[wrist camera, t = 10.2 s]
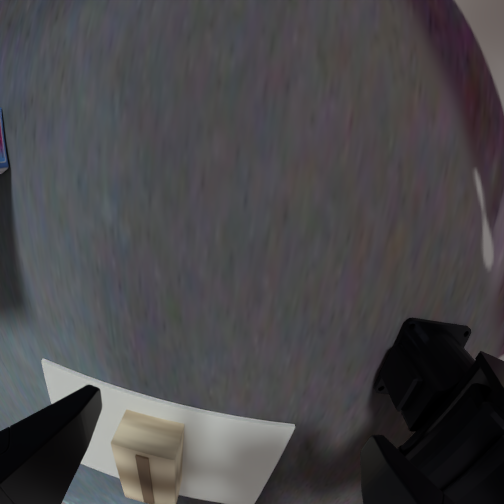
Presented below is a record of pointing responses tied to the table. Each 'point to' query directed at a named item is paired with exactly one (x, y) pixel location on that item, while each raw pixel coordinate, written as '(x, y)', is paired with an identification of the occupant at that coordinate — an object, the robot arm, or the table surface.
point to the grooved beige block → (149, 457)
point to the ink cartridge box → (2, 148)
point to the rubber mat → (185, 439)
